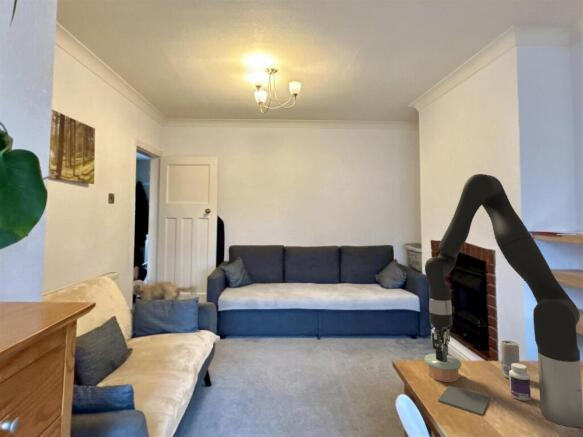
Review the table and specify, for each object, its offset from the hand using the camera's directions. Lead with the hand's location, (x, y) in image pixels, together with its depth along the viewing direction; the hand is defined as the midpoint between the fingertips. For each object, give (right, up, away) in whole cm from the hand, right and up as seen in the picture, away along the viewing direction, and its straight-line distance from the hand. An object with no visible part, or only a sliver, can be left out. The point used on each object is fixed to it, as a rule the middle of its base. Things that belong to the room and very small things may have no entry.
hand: (442, 357), depth 115 cm
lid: (0, -2, 0) cm, 2 cm away
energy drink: (+24, -6, -2) cm, 25 cm away
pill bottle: (+17, -6, -16) cm, 24 cm away
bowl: (0, -6, 0) cm, 6 cm away
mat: (-1, -6, -17) cm, 18 cm away
